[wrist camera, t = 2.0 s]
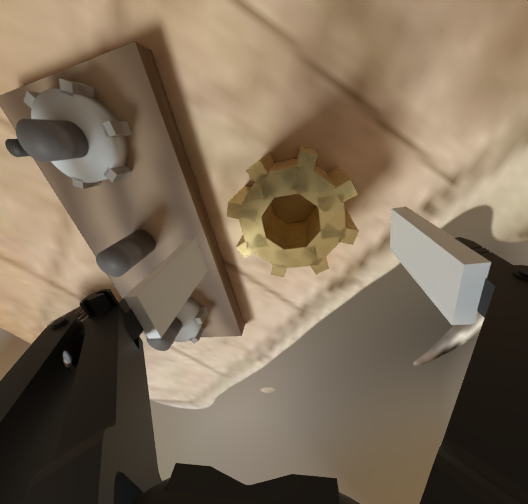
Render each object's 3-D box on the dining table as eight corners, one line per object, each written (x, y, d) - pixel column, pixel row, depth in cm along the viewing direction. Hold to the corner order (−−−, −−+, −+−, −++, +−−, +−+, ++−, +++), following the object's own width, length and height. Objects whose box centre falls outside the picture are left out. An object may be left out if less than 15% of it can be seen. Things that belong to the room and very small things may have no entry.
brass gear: (341, 136, 19) (356, 138, 14) (346, 239, 23) (359, 270, 18) (234, 161, 21) (212, 170, 16) (257, 250, 26) (246, 281, 20)
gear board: (150, 50, 18) (74, 8, 12) (244, 324, 32) (231, 370, 26) (19, 100, 21) (-92, 88, 15) (155, 328, 35) (125, 370, 29)
